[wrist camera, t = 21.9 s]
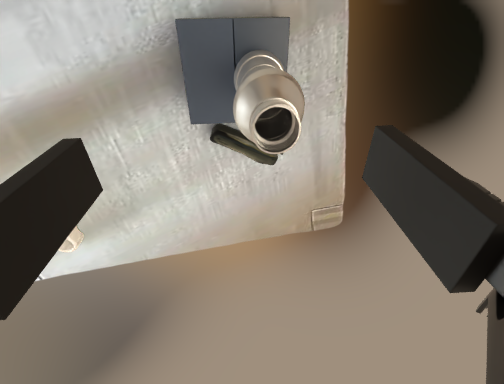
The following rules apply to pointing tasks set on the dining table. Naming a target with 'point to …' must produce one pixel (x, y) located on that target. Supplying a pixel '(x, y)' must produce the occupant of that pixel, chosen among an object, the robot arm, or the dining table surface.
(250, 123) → the plastic bottle
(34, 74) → the dining table surface
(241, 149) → the olive green pouch
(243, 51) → the carton
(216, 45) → the flap
